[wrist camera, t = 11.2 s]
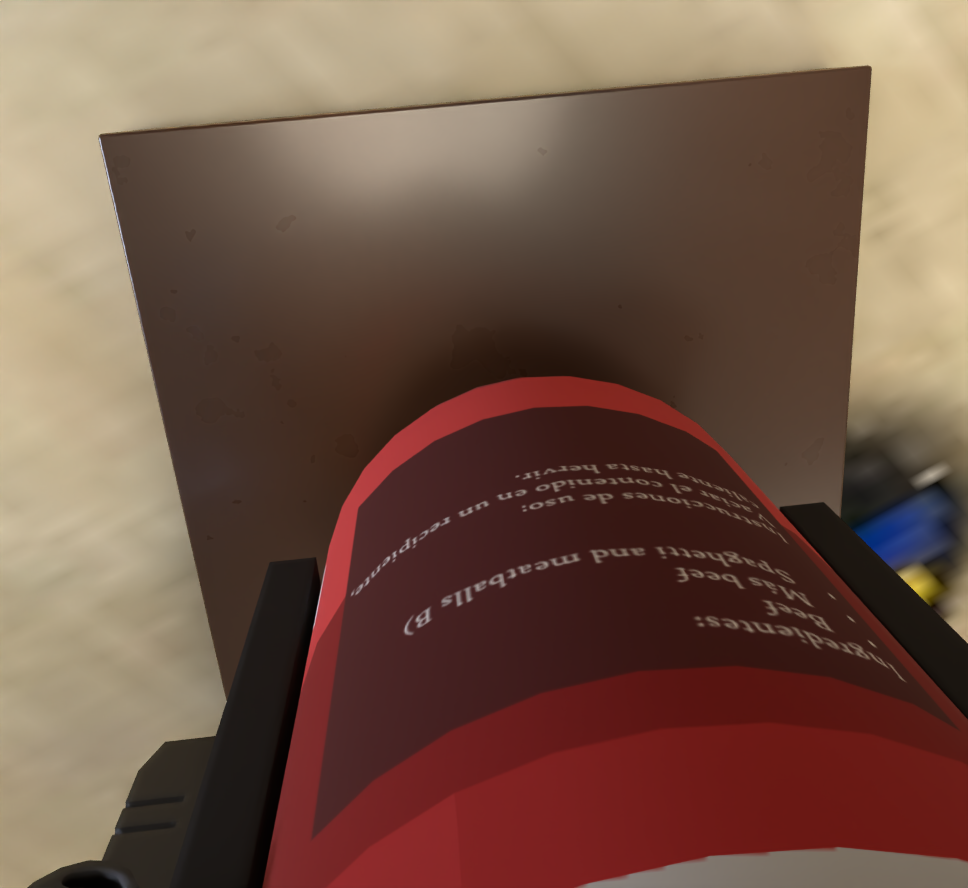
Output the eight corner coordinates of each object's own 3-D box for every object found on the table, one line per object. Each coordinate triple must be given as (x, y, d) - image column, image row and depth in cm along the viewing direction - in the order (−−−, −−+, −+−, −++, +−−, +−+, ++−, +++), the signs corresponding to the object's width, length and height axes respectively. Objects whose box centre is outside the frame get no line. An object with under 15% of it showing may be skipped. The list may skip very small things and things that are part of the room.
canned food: (546, 808, 18) (716, 1718, 8) (234, 577, 16) (-92, 1456, 6) (841, 561, 17) (1525, 1304, 6) (543, 262, 14) (879, 688, 4)
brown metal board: (266, 781, 23) (255, 834, 22) (126, 130, 17) (96, 134, 16) (795, 717, 24) (824, 764, 22) (830, 67, 18) (873, 65, 16)
